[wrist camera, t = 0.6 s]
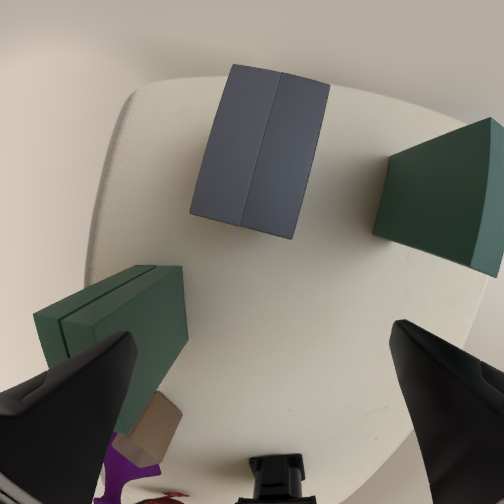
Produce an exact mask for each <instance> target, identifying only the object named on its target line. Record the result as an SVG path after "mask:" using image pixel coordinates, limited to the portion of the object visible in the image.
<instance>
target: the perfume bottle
mask: <svg viewBox="0 0 504 504" xmlns="http://www.w3.org/2000/svg"><path fill="white" fill-rule="evenodd" d="M117 434H118V433H117V432H114V431H113V434H112V437H111V440H110V443H109V446H108V449H107V452H106V455H105V459H104V466H105V492H104V495H103V496H102V497H101V498H94V504H121V498H120V497H121V492H122V488H123V486H124V484H126V483H127V482H129V481H130V480H135V479H139V478H144V477H151V476H158V475H161V471H160V467H159V464H155V465H151V466H147V467H143V468H139V467H137V466H136V465H134V464H133V463H132V462H131V461H129V460H128V459H127V458H126V457H124V456H123V455H122V454H121V453H119V452H118V451H117V450H116V449H115V448H113V446H112V442H113V440H114V439H115V437H116V436H117Z"/></svg>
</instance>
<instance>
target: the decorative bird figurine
mask: <svg viewBox="0 0 504 504" xmlns="http://www.w3.org/2000/svg"><path fill="white" fill-rule="evenodd" d="M163 493H164V492H163ZM167 493H169V494H167ZM167 493H164V494H165V495H168V496H164V497H160V498H155V499H146V500H143V501H141V502H138V503H136V504H184V503H182V502H180V501H178V500H175V499H172V498H170V497H174V496H179V497H181V496H186V497H189V496H187V495H183V494H181V493H170V492H167Z"/></svg>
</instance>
